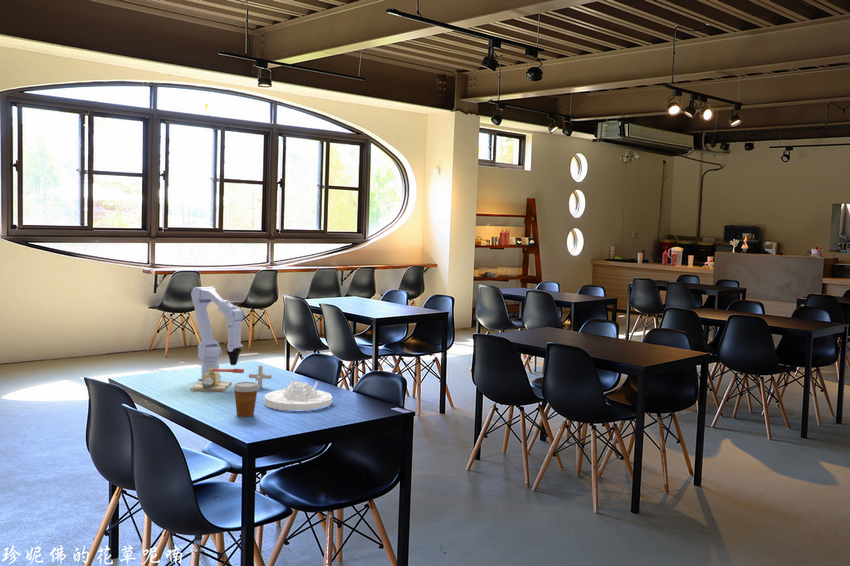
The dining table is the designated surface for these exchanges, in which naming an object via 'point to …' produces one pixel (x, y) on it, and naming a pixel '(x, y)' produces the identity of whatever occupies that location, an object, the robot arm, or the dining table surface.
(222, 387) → the mounting board
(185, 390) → the dining table surface
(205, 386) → the ball valve
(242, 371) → the lever
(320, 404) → the cake
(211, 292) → the robot arm
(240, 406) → the disposable coffee cup
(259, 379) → the pipe connector
